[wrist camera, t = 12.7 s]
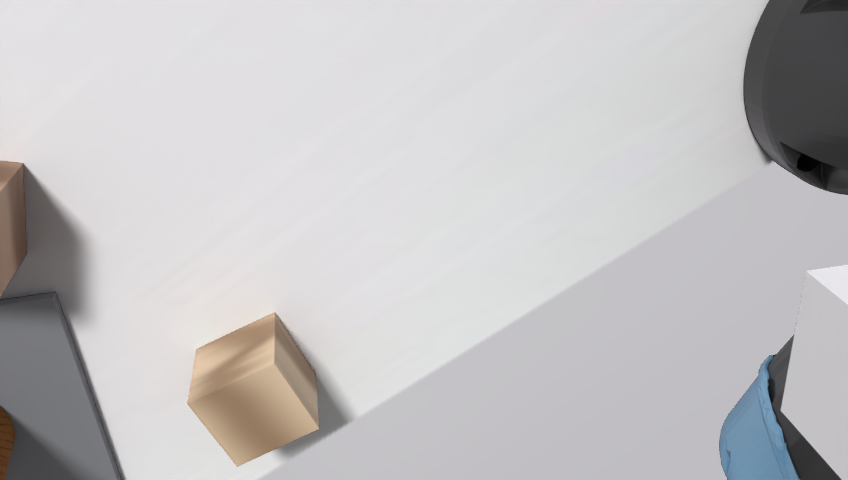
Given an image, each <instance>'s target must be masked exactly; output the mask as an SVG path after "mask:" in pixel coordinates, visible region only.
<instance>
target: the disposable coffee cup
mask: <svg viewBox="0 0 848 480" xmlns="http://www.w3.org/2000/svg"><path fill="white" fill-rule="evenodd" d="M14 442H15V430H14V426H13V423H12V421H11V420H10V418H9V416H8V415H7V413H6V412H5V411H4V410H3V409H2V407H0V480H5V478H6V476H5V475H6V474H7V469H8V468H7V467H8V466H9V461H10V457H11V454H12V452H11V451H12V449H13V445H14Z"/></svg>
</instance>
